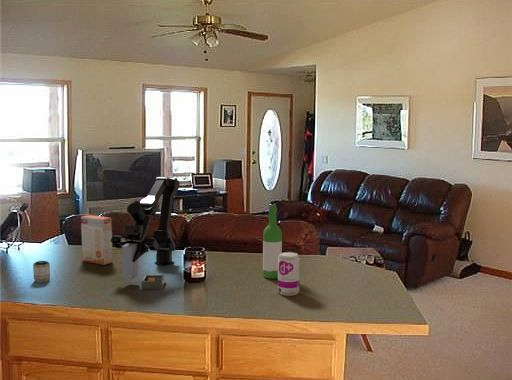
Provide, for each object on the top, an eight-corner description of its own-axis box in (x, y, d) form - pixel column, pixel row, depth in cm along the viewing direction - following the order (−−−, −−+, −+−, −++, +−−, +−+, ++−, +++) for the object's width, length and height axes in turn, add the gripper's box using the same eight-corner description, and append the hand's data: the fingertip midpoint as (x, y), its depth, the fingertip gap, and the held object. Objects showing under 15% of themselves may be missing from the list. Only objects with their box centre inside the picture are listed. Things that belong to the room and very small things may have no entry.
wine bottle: (283, 279, 235) (284, 206, 231) (264, 279, 234) (265, 207, 230) (279, 273, 243) (280, 203, 239) (261, 274, 241) (261, 204, 237)
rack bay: (145, 282, 230) (145, 272, 229) (165, 282, 230) (164, 271, 229) (141, 288, 221) (141, 278, 220) (162, 288, 221) (161, 278, 221)
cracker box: (113, 262, 259) (112, 217, 256) (103, 265, 254) (101, 219, 251) (92, 258, 267) (90, 214, 264) (81, 261, 262) (80, 216, 259)
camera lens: (44, 277, 235) (43, 259, 234) (53, 280, 232) (52, 261, 231) (30, 281, 230) (29, 262, 229) (39, 284, 227) (39, 264, 226)
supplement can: (292, 297, 211) (293, 258, 209) (273, 293, 216) (273, 255, 214) (303, 291, 218) (303, 253, 216) (284, 288, 223) (284, 250, 221)
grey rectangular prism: (128, 274, 229) (128, 243, 227) (137, 275, 228) (137, 243, 226) (122, 278, 224) (121, 246, 223) (131, 279, 223) (131, 246, 221)
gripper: (112, 215, 229) (98, 249, 220) (155, 218, 224) (143, 252, 215) (122, 231, 238) (109, 263, 229) (163, 233, 233) (152, 267, 224)
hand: (128, 261), depth 224 cm, fingers closed on grey rectangular prism, 4 cm apart
